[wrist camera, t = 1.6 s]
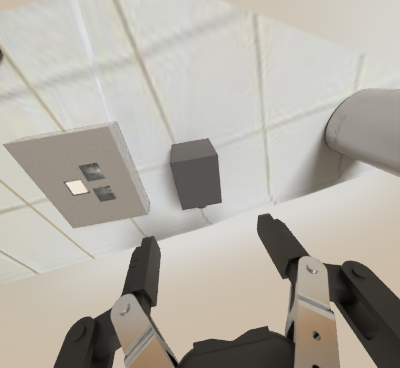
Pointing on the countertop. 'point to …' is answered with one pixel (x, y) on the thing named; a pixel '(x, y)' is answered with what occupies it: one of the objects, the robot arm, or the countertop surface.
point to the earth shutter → (77, 186)
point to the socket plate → (84, 173)
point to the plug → (196, 173)
